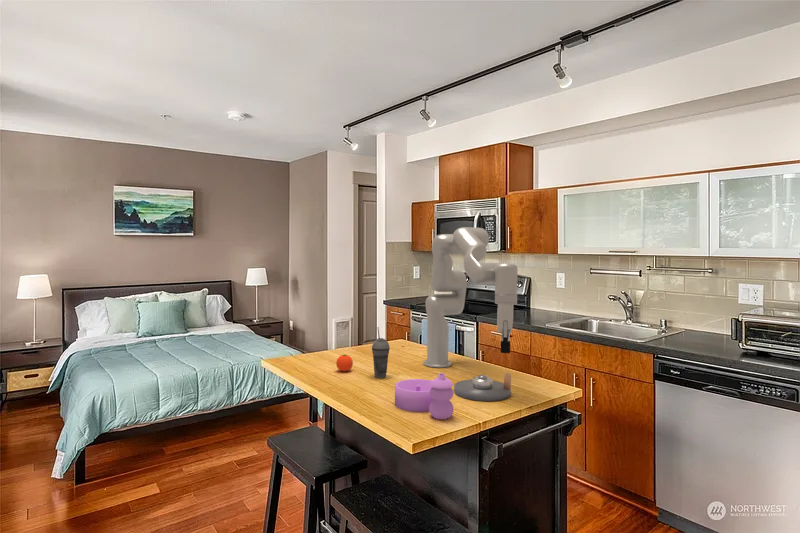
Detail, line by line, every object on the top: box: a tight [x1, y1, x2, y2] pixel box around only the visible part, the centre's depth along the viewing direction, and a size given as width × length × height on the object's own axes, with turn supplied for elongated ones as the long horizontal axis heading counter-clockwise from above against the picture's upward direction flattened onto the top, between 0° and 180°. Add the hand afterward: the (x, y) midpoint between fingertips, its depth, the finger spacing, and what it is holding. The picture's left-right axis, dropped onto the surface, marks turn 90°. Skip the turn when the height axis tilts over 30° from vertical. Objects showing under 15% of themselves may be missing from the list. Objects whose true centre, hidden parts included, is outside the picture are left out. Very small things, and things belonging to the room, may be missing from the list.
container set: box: [394, 373, 454, 420], centre depth 153 cm, size 25×15×13 cm, turn 29°
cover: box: [472, 374, 494, 390], centre depth 170 cm, size 7×7×4 cm
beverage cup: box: [371, 326, 391, 379], centre depth 190 cm, size 7×7×20 cm
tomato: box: [335, 354, 354, 373], centre depth 199 cm, size 8×7×7 cm
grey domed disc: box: [453, 373, 512, 402], centre depth 171 cm, size 20×20×7 cm
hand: (505, 352), depth 164 cm, fingers closed
